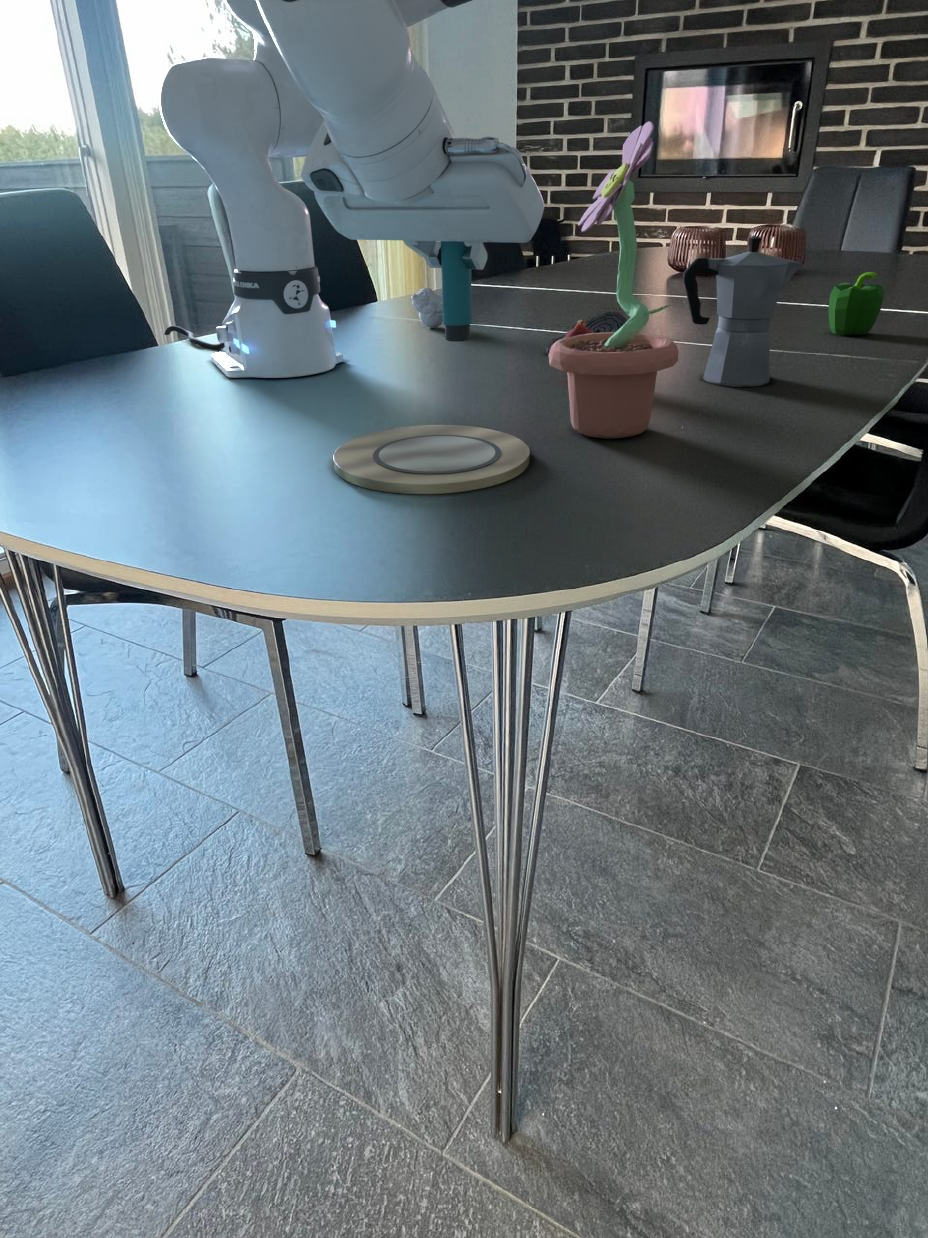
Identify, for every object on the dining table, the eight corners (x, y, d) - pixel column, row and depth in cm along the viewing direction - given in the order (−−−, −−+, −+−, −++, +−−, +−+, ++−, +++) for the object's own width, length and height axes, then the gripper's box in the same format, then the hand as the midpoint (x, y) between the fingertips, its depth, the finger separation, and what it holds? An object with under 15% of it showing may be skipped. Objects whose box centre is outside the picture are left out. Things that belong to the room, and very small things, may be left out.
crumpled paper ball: (411, 325, 159) (409, 286, 156) (448, 324, 160) (447, 285, 156) (413, 331, 154) (411, 290, 150) (451, 329, 154) (450, 289, 151)
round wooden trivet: (300, 456, 88) (298, 446, 87) (454, 423, 98) (454, 414, 97) (401, 510, 74) (400, 498, 73) (570, 465, 84) (570, 454, 83)
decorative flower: (542, 412, 102) (550, 126, 87) (657, 411, 101) (683, 123, 87) (550, 449, 88) (560, 119, 74) (681, 447, 88) (717, 116, 74)
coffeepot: (771, 370, 119) (792, 232, 111) (796, 386, 111) (822, 237, 102) (664, 373, 119) (677, 235, 110) (681, 389, 111) (697, 240, 102)
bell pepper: (811, 332, 145) (822, 270, 140) (846, 328, 148) (858, 267, 143) (849, 340, 139) (862, 275, 134) (885, 335, 142) (899, 271, 137)
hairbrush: (527, 335, 132) (593, 305, 150) (527, 358, 134) (592, 326, 152) (575, 339, 128) (637, 308, 146) (574, 364, 130) (635, 330, 148)
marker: (437, 339, 82) (433, 196, 76) (461, 335, 84) (458, 195, 78) (454, 343, 80) (450, 197, 74) (477, 339, 82) (476, 196, 76)
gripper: (526, 104, 63) (571, 236, 75) (311, 117, 72) (382, 234, 84) (499, 171, 62) (549, 295, 74) (284, 176, 71) (360, 286, 83)
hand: (459, 263), depth 79 cm, fingers closed on marker, 3 cm apart
